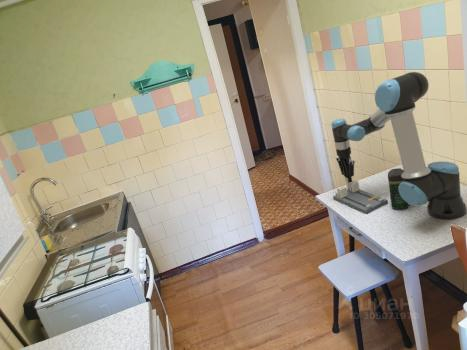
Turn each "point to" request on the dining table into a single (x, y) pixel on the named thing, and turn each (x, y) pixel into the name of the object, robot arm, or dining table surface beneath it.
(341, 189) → the fader
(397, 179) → the coffee jar
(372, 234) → the dining table surface
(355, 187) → the fader
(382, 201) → the console
